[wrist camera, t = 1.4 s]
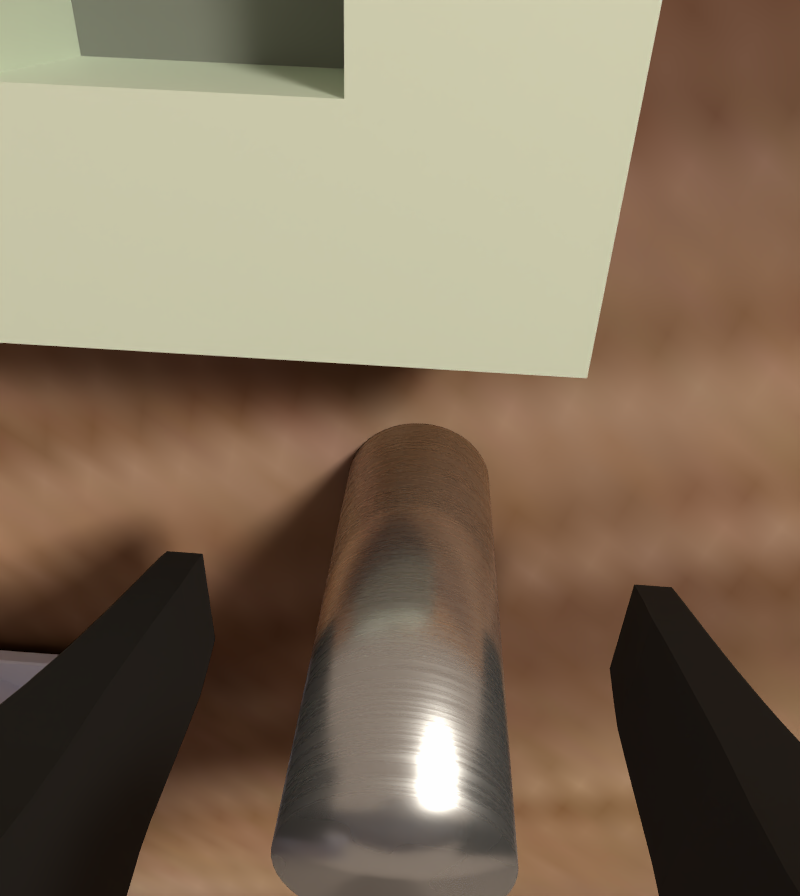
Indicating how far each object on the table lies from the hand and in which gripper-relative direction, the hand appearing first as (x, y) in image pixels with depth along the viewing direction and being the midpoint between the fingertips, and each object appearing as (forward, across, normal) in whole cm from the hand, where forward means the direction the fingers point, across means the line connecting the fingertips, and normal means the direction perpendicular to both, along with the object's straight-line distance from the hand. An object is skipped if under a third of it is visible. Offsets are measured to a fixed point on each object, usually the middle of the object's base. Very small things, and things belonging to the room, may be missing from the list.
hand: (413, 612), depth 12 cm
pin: (+4, 0, 0) cm, 4 cm away
